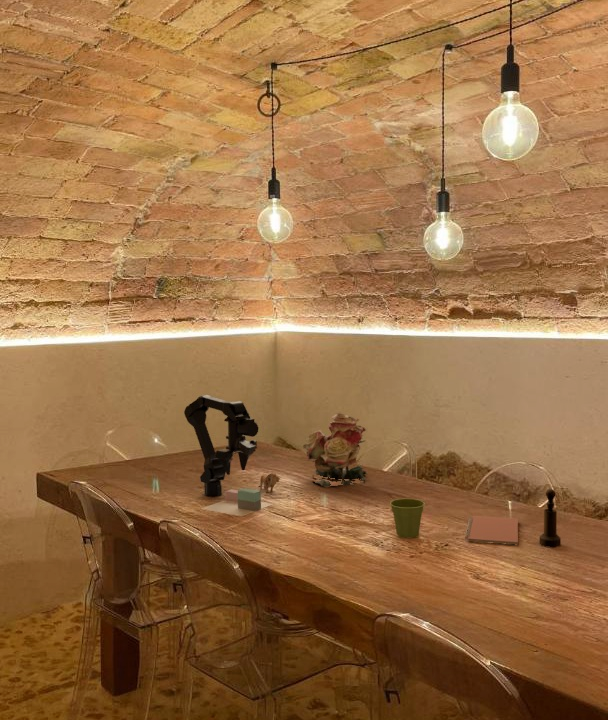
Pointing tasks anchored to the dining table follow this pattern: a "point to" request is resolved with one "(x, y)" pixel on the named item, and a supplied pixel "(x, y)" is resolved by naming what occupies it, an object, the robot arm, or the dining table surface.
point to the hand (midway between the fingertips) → (235, 472)
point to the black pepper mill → (550, 523)
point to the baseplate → (237, 507)
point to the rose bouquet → (337, 450)
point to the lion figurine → (268, 481)
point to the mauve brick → (231, 495)
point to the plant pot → (407, 516)
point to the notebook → (492, 529)
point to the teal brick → (249, 495)
